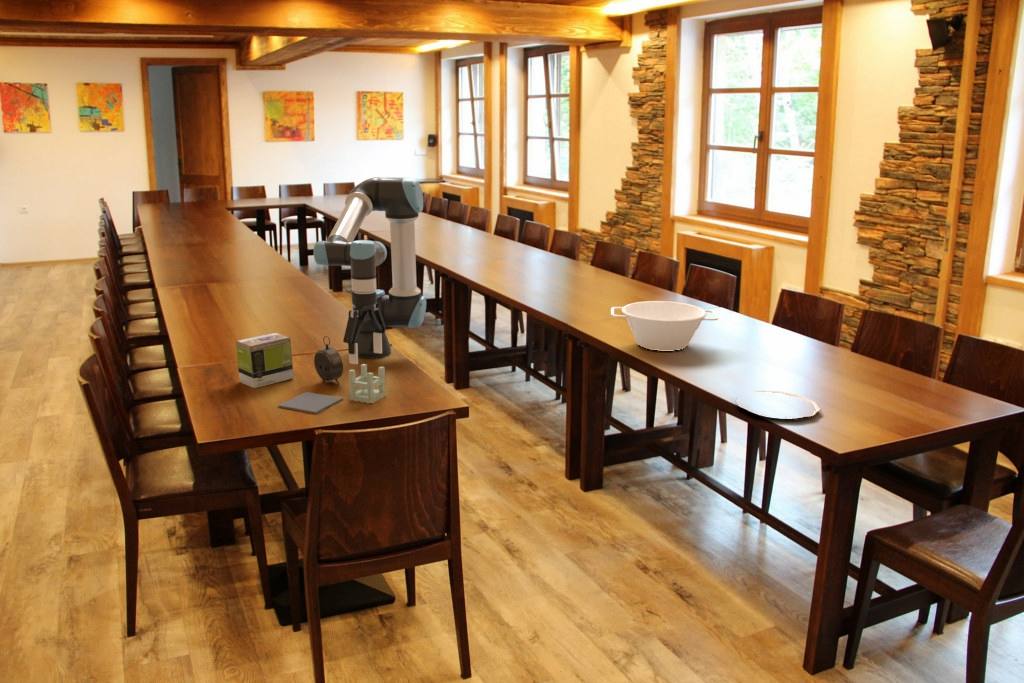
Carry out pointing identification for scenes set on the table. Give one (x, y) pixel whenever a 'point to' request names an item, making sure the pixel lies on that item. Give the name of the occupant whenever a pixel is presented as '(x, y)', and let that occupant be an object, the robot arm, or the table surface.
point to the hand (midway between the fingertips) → (366, 358)
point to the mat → (310, 402)
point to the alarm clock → (328, 363)
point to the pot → (663, 323)
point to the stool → (367, 385)
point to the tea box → (264, 359)
